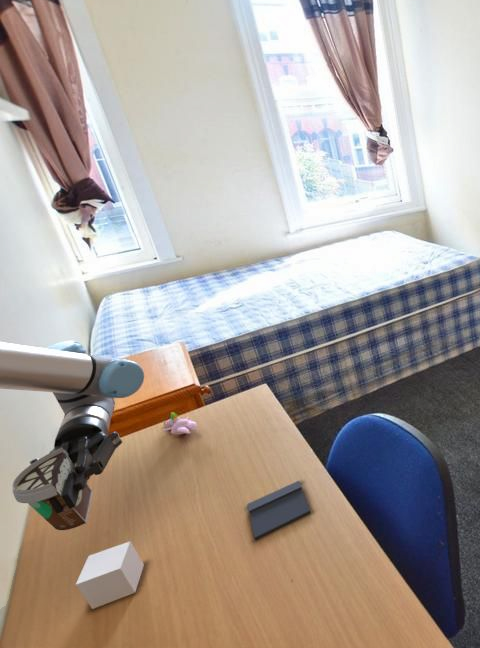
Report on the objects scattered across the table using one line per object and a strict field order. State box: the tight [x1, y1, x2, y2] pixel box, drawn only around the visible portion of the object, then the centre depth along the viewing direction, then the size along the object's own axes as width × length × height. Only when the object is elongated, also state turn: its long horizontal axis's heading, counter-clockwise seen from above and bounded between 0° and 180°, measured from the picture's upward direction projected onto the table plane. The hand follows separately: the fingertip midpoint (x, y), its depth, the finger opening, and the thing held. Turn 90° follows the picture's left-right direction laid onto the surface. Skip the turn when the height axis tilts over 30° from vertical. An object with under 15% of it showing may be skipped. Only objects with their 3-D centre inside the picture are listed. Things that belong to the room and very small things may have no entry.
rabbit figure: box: [162, 411, 198, 435], centre depth 120 cm, size 6×6×15 cm
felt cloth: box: [247, 480, 311, 541], centre depth 93 cm, size 10×10×1 cm
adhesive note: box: [75, 540, 145, 610], centre depth 80 cm, size 6×6×6 cm
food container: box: [11, 448, 93, 531], centre depth 79 cm, size 12×6×10 cm, turn 36°
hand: (62, 503), depth 75 cm, fingers closed on food container
